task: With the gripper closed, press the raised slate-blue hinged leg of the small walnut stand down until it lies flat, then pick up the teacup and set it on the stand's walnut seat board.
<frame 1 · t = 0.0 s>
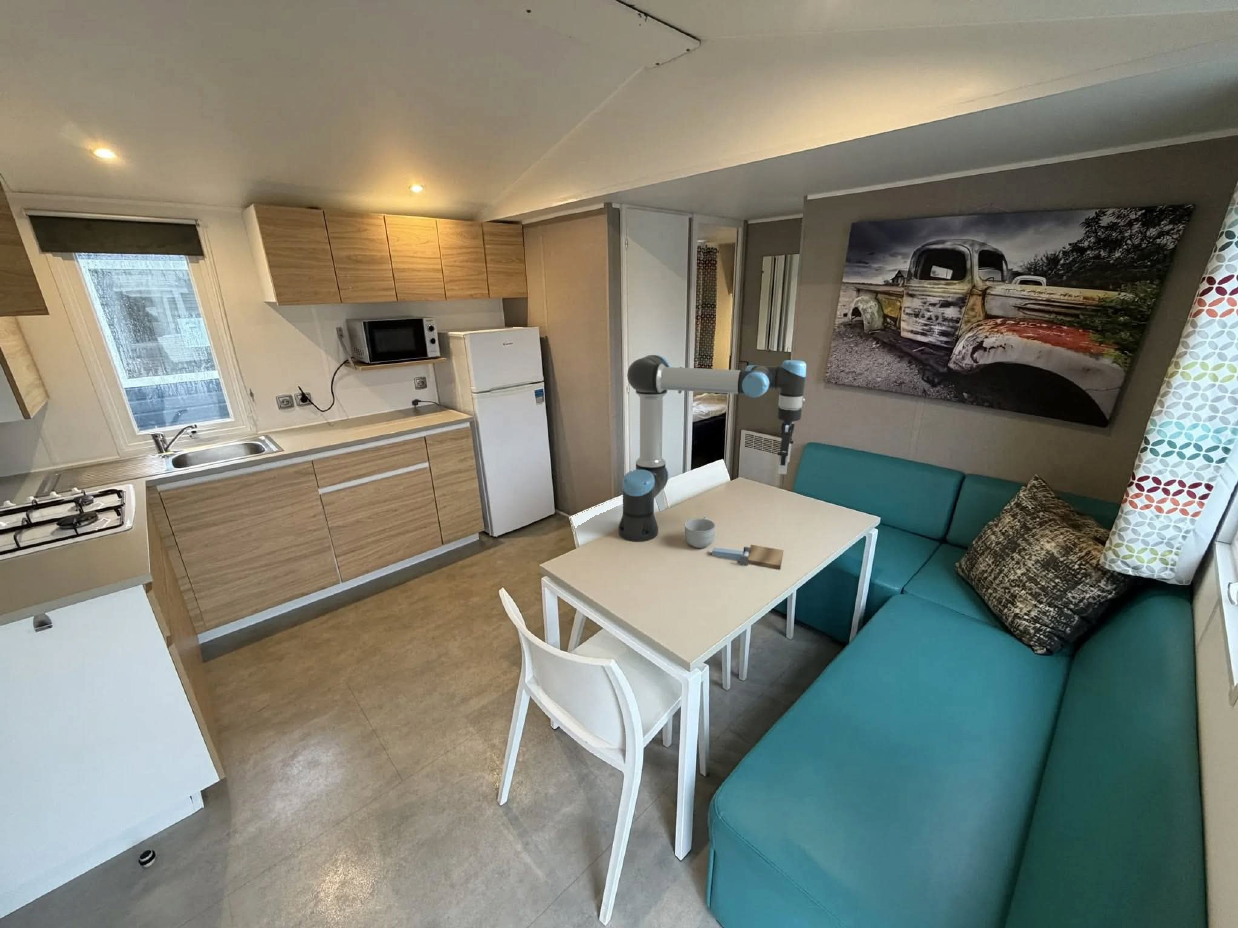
hand: (783, 467, 168), 28 cm above the table, fingers open, 13 cm apart
teacup: (700, 542, 176), on the table
hinge cheek 1: (743, 564, 161), on the table
hinge cheek 2: (746, 555, 166), on the table
leg: (730, 554, 165), point 1 cm above the table, hinge at -3.4°, touching seat board
seat board: (764, 558, 165), on the table
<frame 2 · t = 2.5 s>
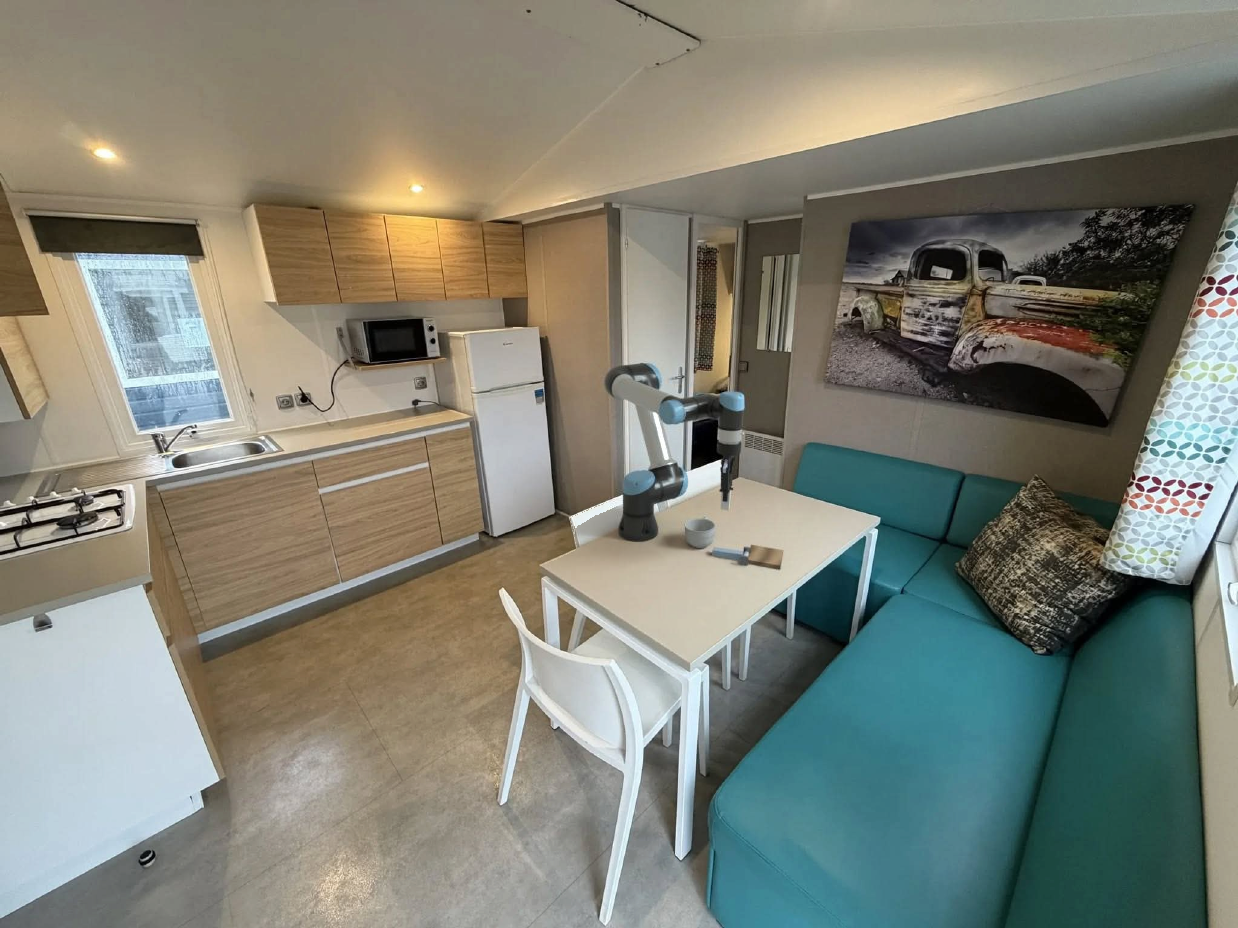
hand: (725, 509, 161), 18 cm above the table, fingers closed
leg: (730, 554, 165), point 1 cm above the table, hinge at -2.5°, touching seat board
everything else where it was.
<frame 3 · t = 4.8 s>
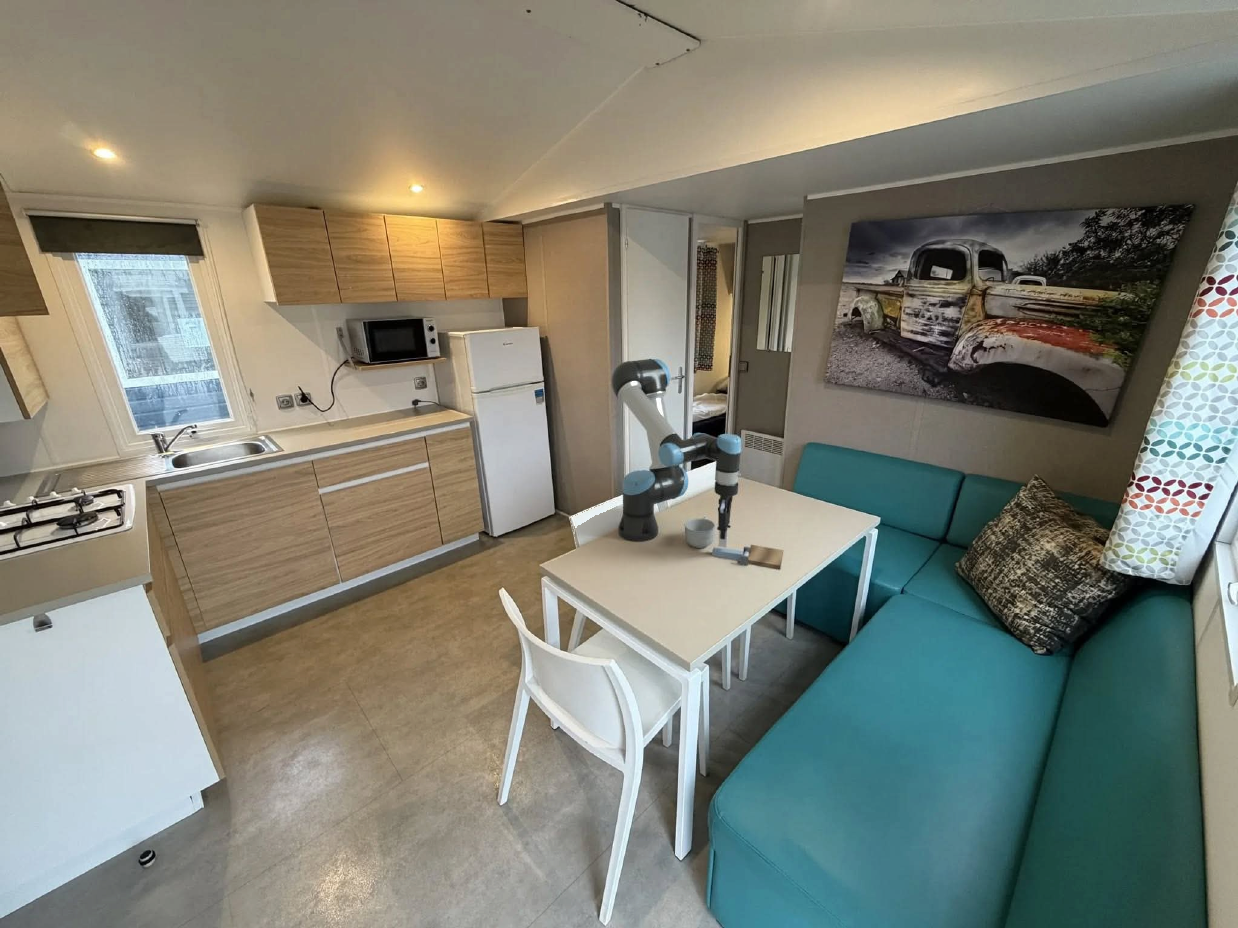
hand: (722, 545, 165), 4 cm above the table, fingers closed
nothing on the table moved.
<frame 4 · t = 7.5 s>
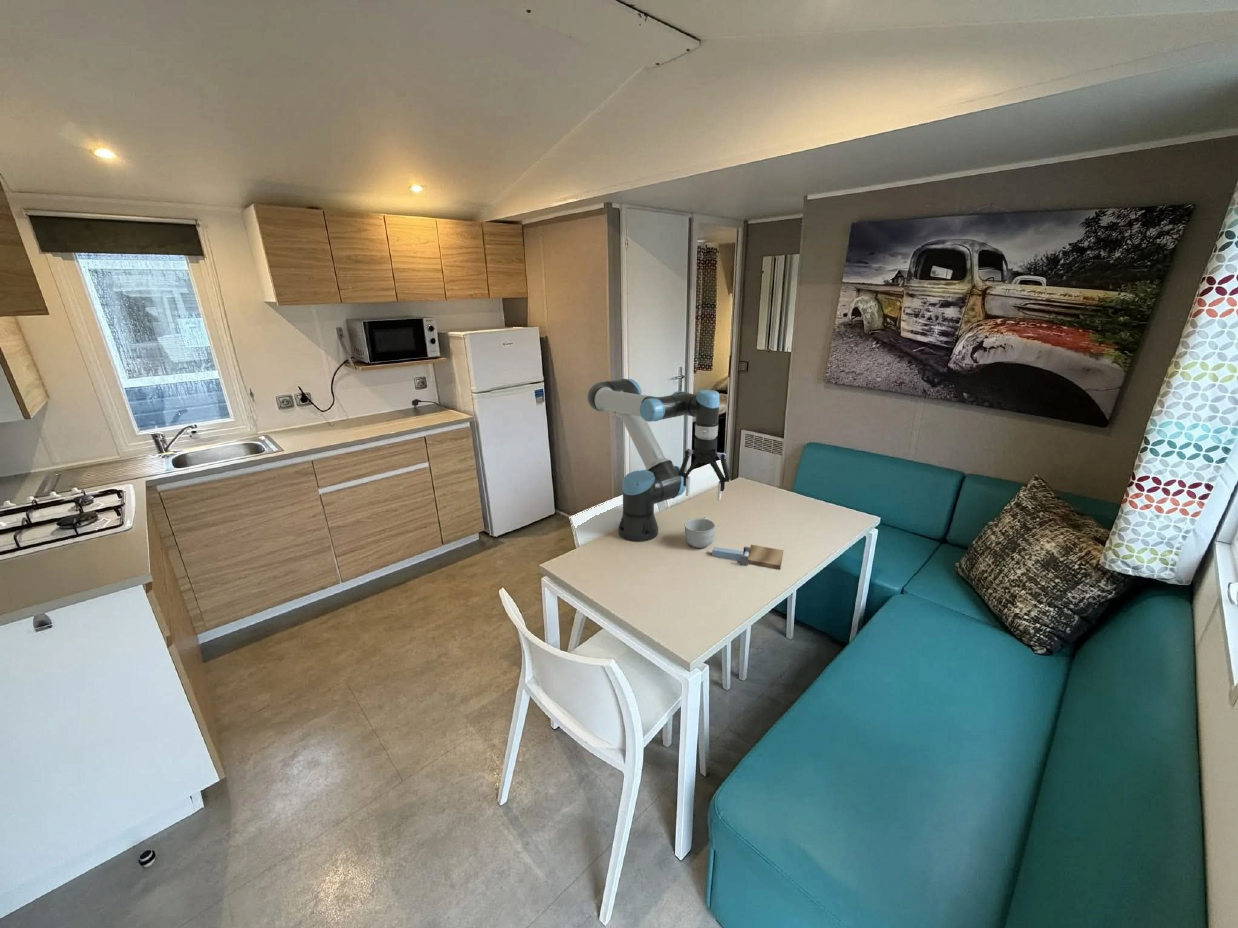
hand: (703, 496, 170), 18 cm above the table, fingers open, 10 cm apart
nothing on the table moved.
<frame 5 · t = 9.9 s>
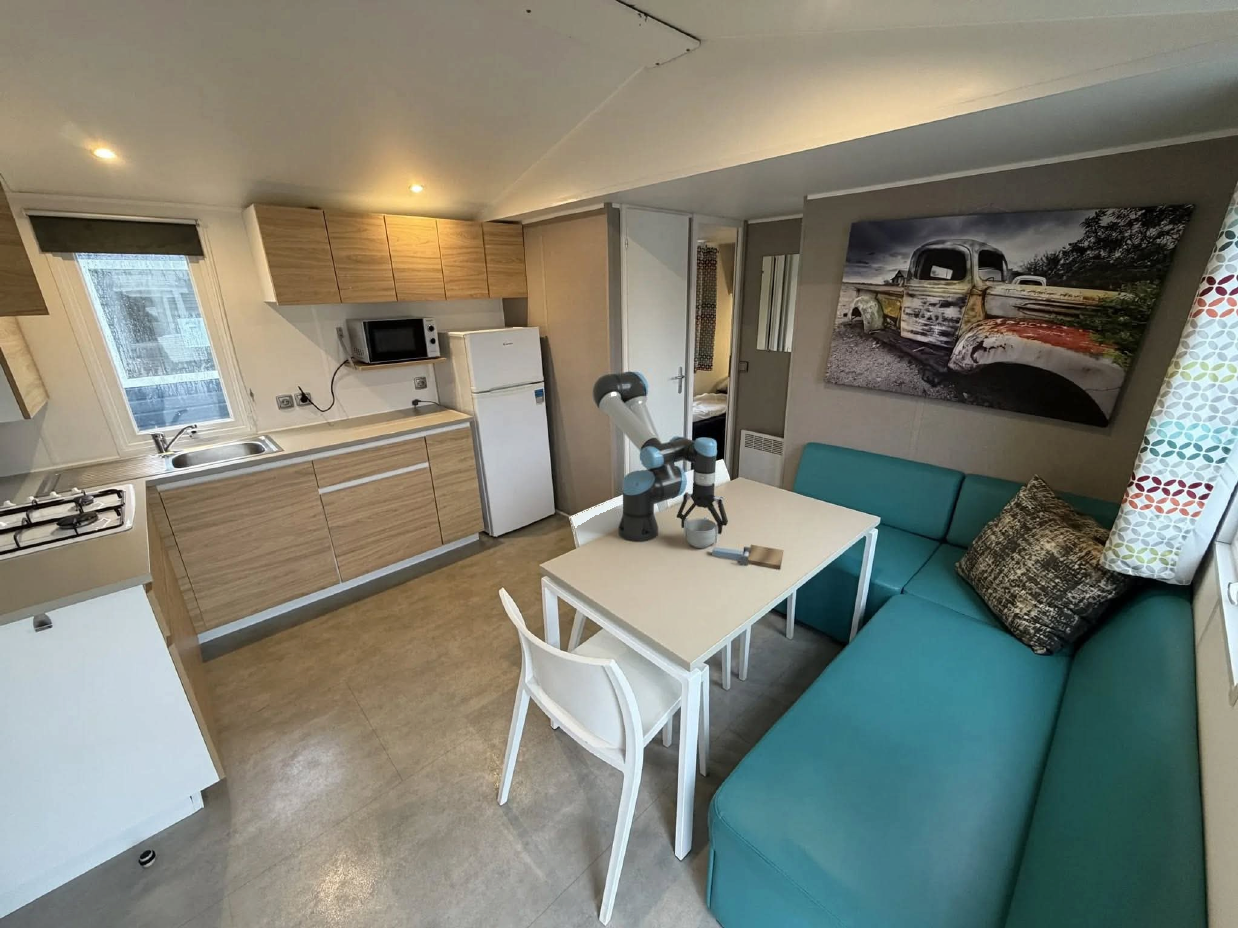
hand: (700, 538, 176), 1 cm above the table, fingers closed on teacup, 11 cm apart
teacup: (701, 542, 176), on the table, touching gripper
everything else where it was.
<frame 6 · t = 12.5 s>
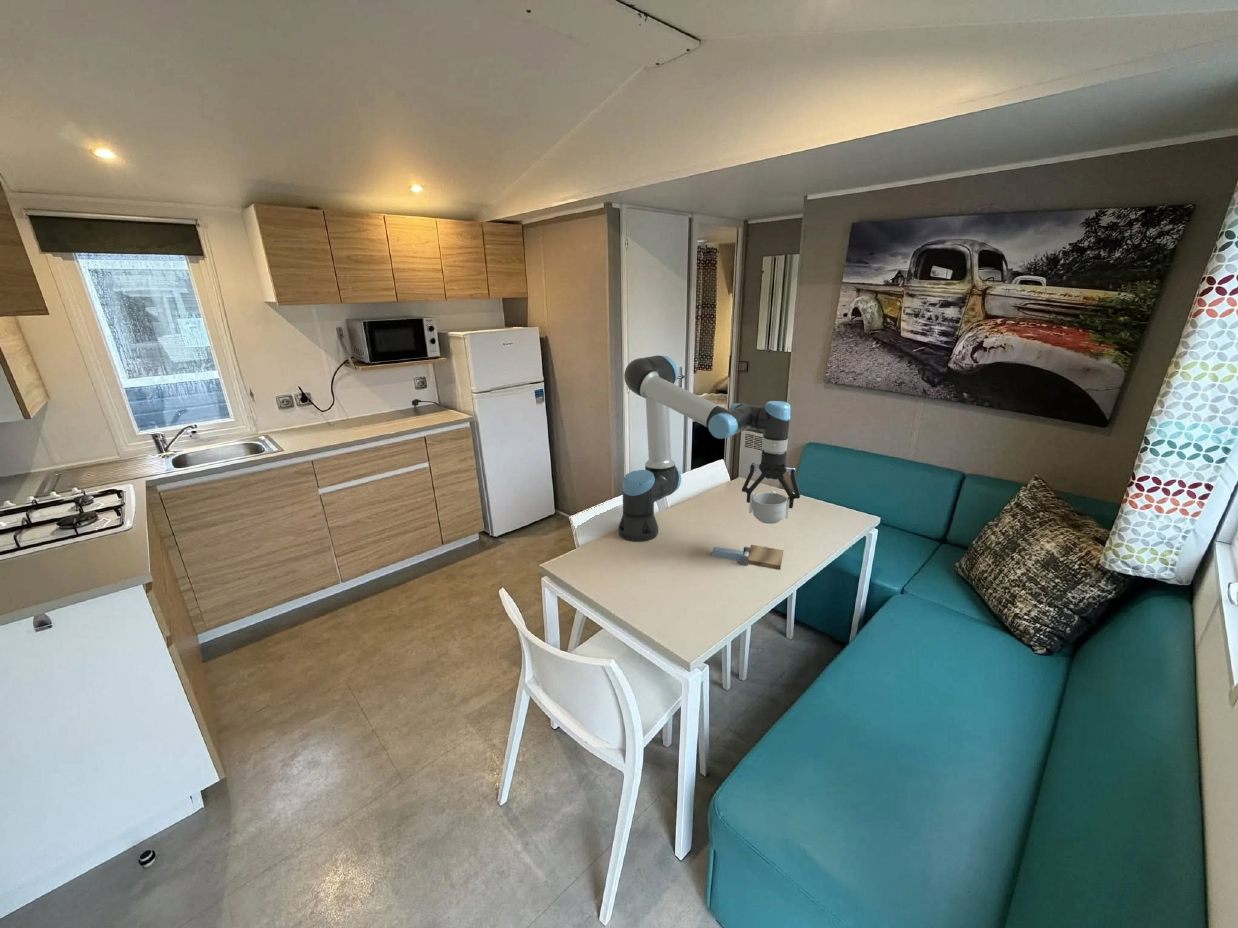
hand: (768, 514, 160), 16 cm above the table, fingers closed on teacup, 11 cm apart
teacup: (769, 518, 160), point 15 cm above the table, touching gripper
everything else where it was.
when the fingers open (4 cm above the table, at t = 15.3 s): teacup drops 2 cm, resting on seat board.
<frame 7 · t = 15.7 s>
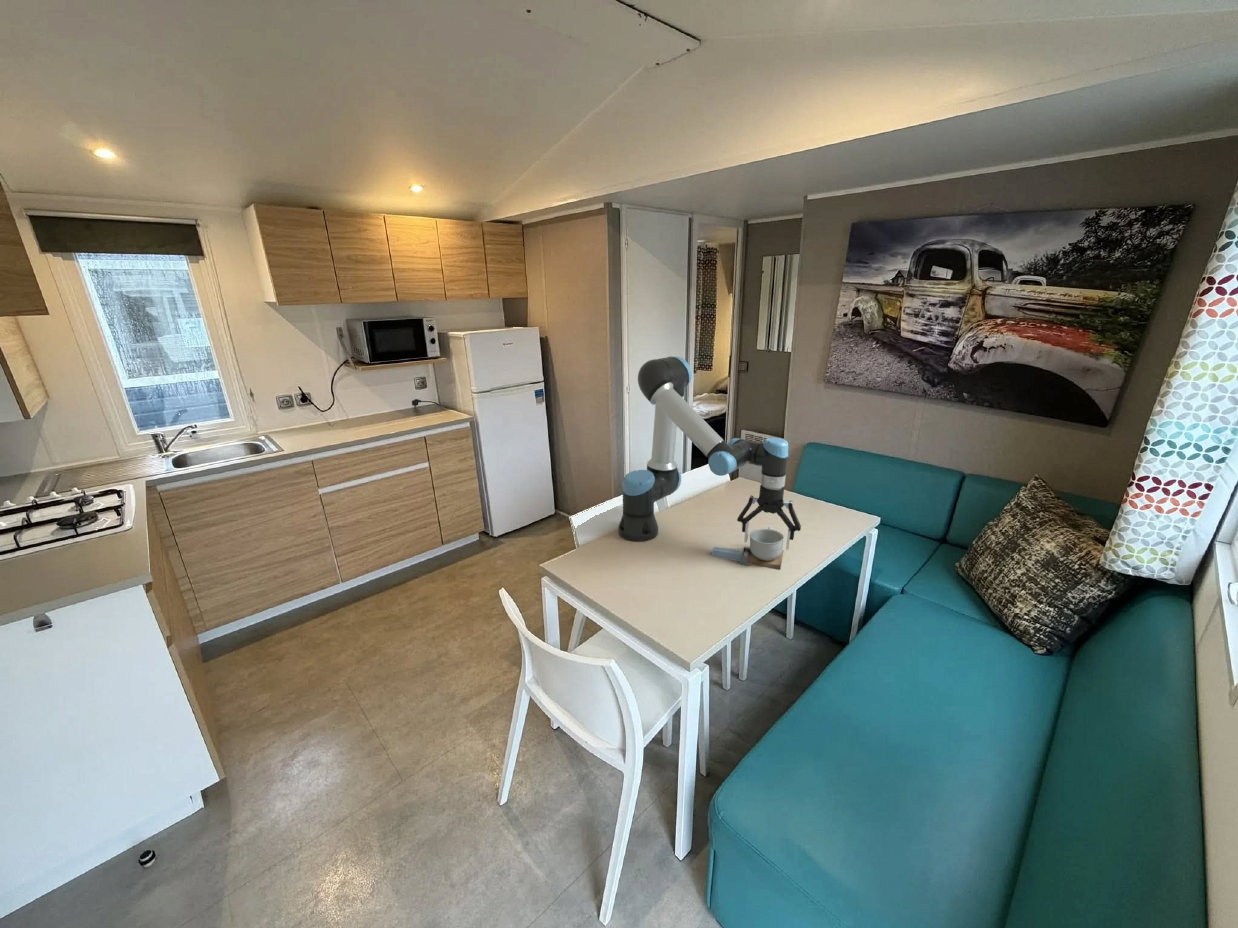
hand: (766, 544, 163), 5 cm above the table, fingers open, 13 cm apart
teacup: (766, 554, 164), point 1 cm above the table, touching seat board
everything else where it was.
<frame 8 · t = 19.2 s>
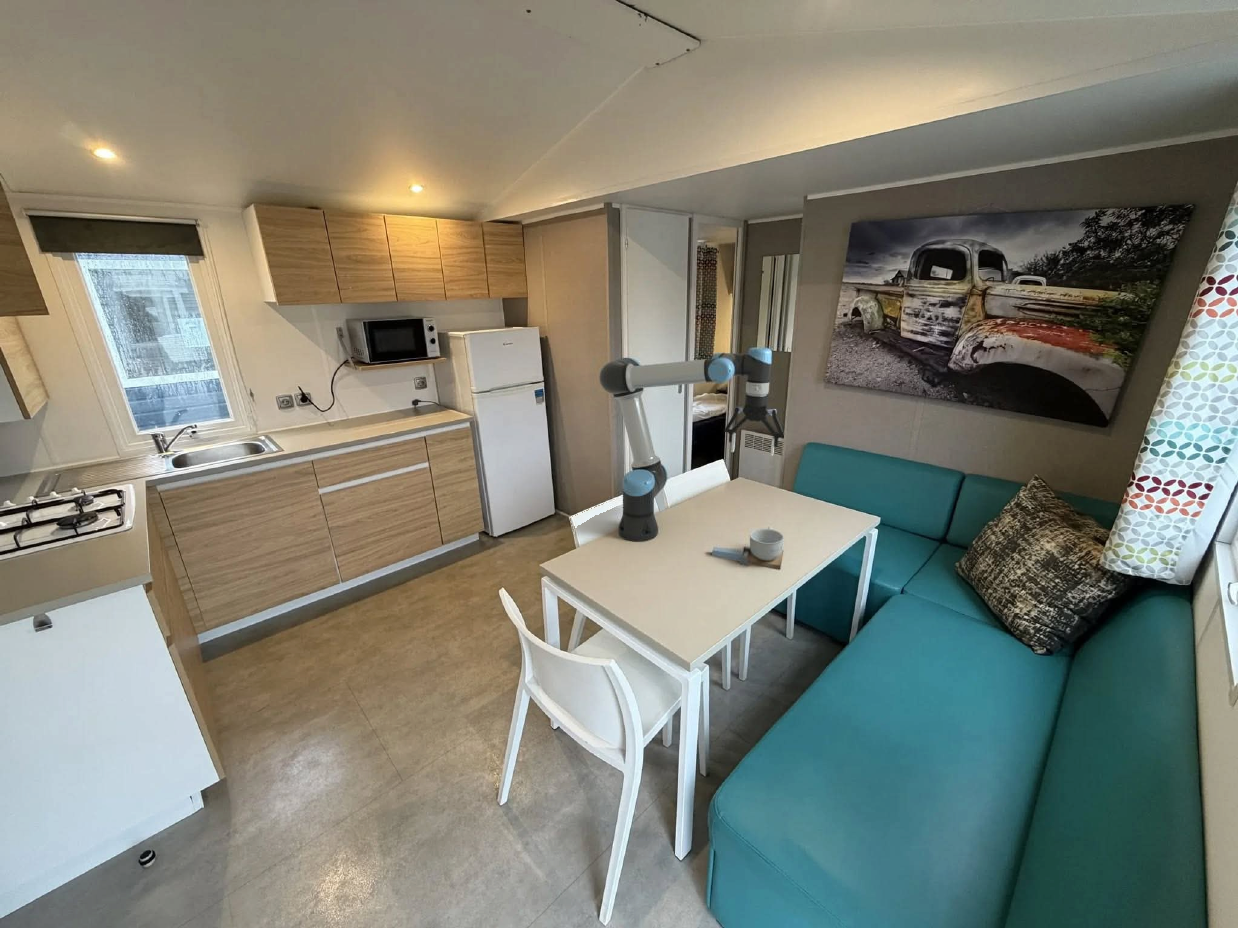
hand: (752, 453, 172), 32 cm above the table, fingers open, 13 cm apart
nothing on the table moved.
at the end: leg at -2° (first picture: -3°); teacup inside the target area on the seat board (0.6 cm from its centre), point 1.2 cm above the seat board's base; teacup tilted 0° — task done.
